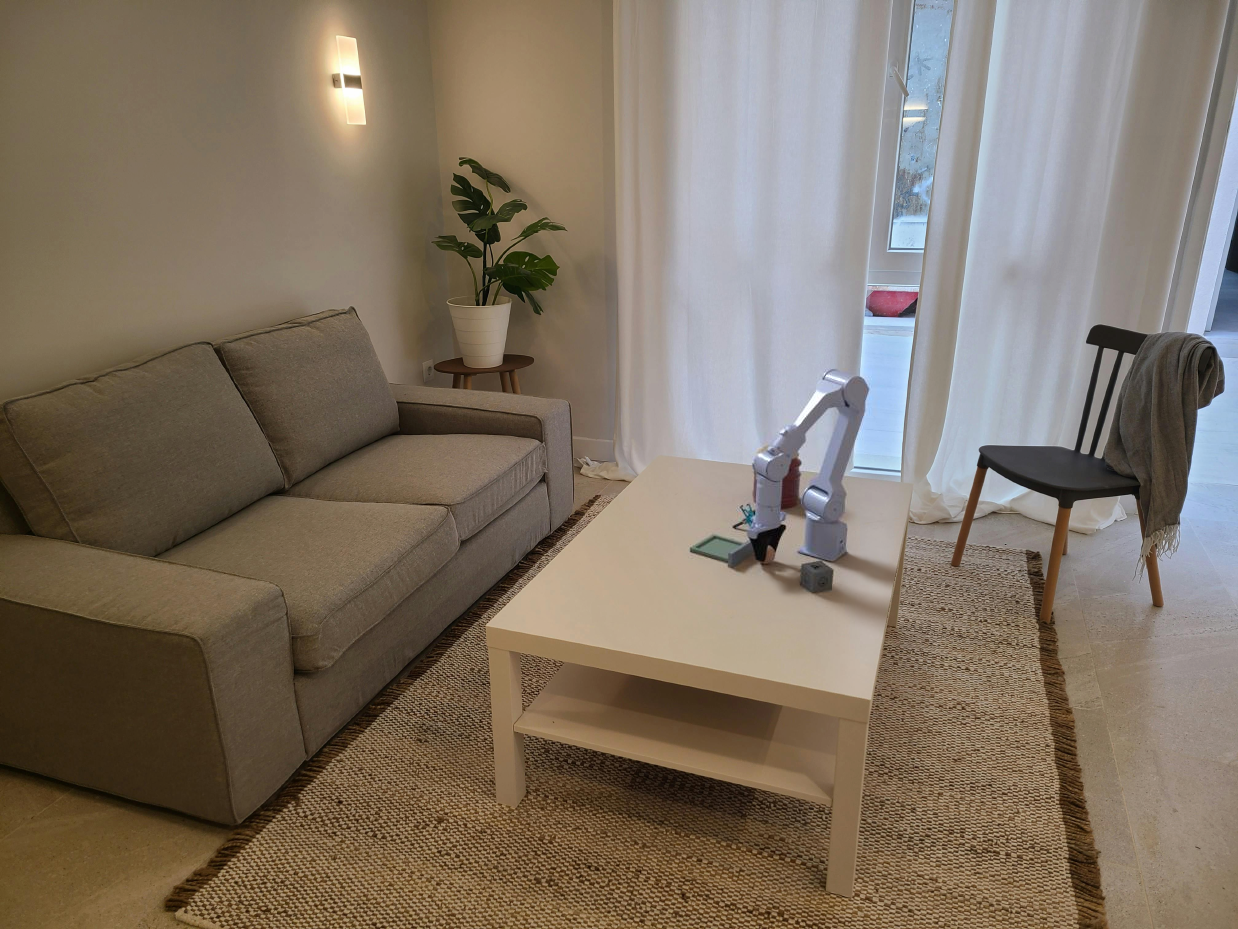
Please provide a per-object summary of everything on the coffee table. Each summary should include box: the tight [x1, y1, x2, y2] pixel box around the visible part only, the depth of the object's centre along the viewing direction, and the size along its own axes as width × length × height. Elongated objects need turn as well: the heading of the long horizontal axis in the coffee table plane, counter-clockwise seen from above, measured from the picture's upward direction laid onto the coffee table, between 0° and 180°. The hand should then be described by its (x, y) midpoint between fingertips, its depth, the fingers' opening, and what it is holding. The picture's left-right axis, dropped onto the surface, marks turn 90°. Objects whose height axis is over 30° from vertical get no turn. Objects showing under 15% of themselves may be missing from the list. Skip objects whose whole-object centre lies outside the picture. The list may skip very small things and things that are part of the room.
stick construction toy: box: [732, 503, 756, 529], centre depth 223 cm, size 12×7×8 cm
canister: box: [752, 444, 803, 509], centre depth 239 cm, size 13×13×18 cm
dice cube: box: [799, 560, 834, 594], centre depth 190 cm, size 5×5×5 cm
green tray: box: [689, 533, 744, 564], centre depth 210 cm, size 11×11×1 cm
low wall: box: [727, 539, 754, 568], centre depth 206 cm, size 1×14×4 cm, turn 142°
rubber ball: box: [758, 545, 776, 565], centre depth 202 cm, size 4×4×4 cm
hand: (765, 557), depth 202 cm, fingers closed on rubber ball, 4 cm apart
